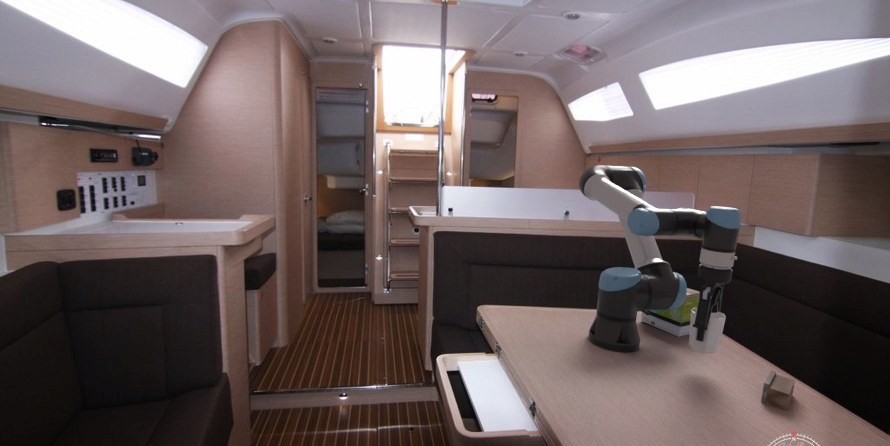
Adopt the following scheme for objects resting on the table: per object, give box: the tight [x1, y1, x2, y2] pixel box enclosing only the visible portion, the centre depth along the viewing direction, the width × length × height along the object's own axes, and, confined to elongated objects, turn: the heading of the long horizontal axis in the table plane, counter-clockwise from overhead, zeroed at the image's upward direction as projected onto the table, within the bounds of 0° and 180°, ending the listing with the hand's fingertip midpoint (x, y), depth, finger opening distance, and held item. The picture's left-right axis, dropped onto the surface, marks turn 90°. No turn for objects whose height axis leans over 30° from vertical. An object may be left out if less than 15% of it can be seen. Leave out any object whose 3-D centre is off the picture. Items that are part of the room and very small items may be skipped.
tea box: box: [640, 287, 700, 338], centre depth 146 cm, size 15×10×15 cm, turn 28°
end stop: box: [760, 369, 796, 411], centre depth 103 cm, size 5×10×5 cm, turn 134°
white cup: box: [688, 308, 727, 354], centre depth 113 cm, size 8×8×10 cm
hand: (703, 346), depth 114 cm, fingers closed on white cup, 7 cm apart
